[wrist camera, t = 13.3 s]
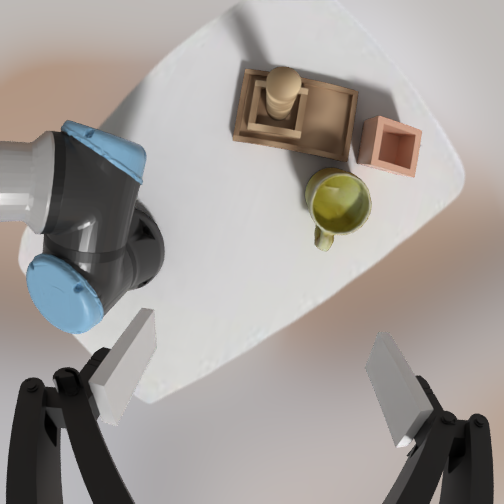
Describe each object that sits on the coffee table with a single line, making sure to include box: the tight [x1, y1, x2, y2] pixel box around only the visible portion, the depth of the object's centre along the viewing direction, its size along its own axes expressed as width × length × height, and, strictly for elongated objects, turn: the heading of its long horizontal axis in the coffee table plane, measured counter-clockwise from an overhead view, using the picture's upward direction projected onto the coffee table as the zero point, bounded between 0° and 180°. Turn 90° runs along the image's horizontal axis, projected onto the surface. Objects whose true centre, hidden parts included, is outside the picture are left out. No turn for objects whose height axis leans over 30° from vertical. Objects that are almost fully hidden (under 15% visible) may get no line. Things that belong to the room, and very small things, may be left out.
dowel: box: [266, 66, 301, 121], centre depth 34 cm, size 4×4×16 cm
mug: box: [305, 168, 372, 251], centre depth 43 cm, size 12×10×10 cm
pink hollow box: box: [357, 116, 422, 177], centre depth 40 cm, size 8×8×7 cm
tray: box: [233, 69, 358, 162], centre depth 41 cm, size 18×12×3 cm, turn 81°
